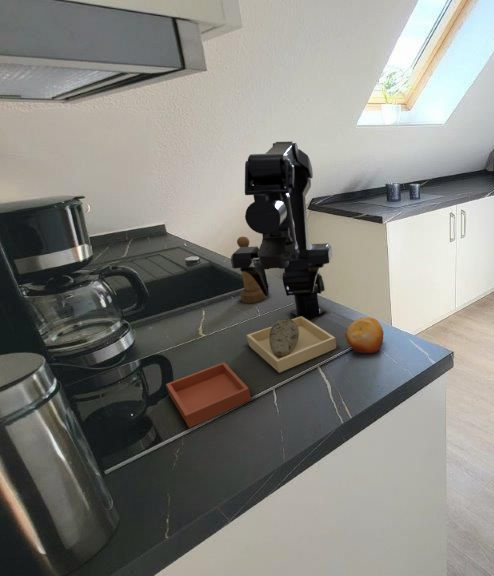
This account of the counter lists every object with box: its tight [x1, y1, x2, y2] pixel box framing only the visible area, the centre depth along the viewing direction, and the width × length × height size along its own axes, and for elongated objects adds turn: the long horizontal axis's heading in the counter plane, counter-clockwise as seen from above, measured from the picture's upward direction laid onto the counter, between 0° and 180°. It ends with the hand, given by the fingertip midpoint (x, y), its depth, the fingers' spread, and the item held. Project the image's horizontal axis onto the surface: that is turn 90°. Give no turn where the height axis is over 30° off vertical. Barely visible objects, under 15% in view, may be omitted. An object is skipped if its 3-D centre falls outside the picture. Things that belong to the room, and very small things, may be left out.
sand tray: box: [246, 316, 337, 374], centre depth 89 cm, size 15×13×3 cm
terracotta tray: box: [165, 361, 252, 429], centre depth 73 cm, size 12×10×2 cm
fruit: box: [344, 316, 384, 354], centre depth 88 cm, size 8×8×8 cm
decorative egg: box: [269, 318, 299, 357], centre depth 86 cm, size 6×6×10 cm
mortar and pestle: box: [236, 236, 268, 304], centre depth 111 cm, size 7×6×18 cm
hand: (289, 294), depth 85 cm, fingers open, 9 cm apart
